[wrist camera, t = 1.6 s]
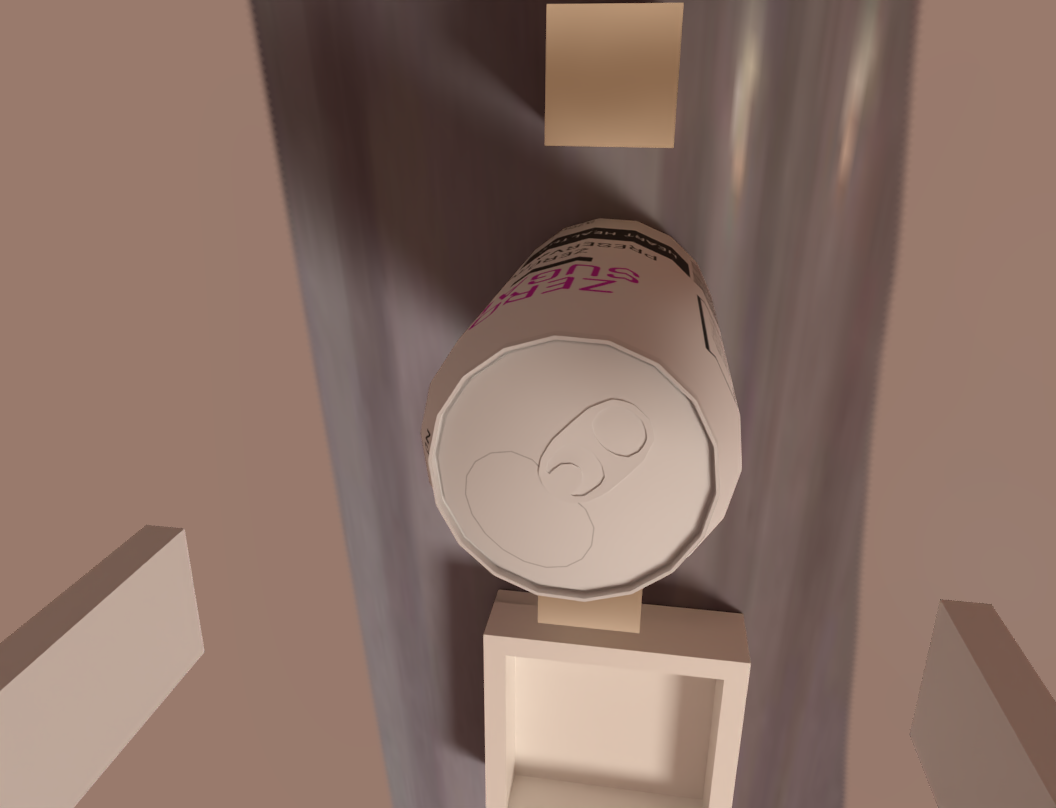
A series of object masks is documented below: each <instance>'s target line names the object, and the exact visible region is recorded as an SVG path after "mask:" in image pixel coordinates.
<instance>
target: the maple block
mask: <svg viewBox="0 0 1056 808" xmlns="http://www.w3.org/2000/svg"><path fill="white" fill-rule="evenodd" d="M683 5H684V3H601V4H547V11H546V80H545V146H594V147H652V148H673V147H674V133H675V119H676V104H677V90H678V76H679V62H680V47H681V33H682V19H683Z"/></svg>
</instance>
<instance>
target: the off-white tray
mask: <svg viewBox="0 0 1056 808" xmlns="http://www.w3.org/2000/svg"><path fill="white" fill-rule="evenodd" d="M483 643H484V709H485V776H486V808H732V800H733V793H734V785H735V778H736V770H737V763H738V755H739V748H740V740H741V733H742V725H743V718H744V711H745V703H746V696H747V688H748V681H749V673H750V666H751V662H750V655H749V649H748V642H747V635H746V629H745V622H744V616H743V614H740V613H730V612H720V611H710V610H700V609H690V608H680V607H670V606H660V605H650V604H641V617H640V632H639V633H632V632H622V631H613V630H603V629H593V628H584V627H574V626H565V625H555V624H546V623H538V595H535V594H533V593H530V592H520V591H510V590H500V589H499V590H498V593H497V596H496V599H495V602H494V604H493V607H492V610H491V613H490V616H489V619H488V622H487V625H486V628H485V631H484V634H483Z"/></svg>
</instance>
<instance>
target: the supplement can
mask: <svg viewBox="0 0 1056 808" xmlns="http://www.w3.org/2000/svg"><path fill="white" fill-rule="evenodd" d="M421 438H422V443H423V449H424V454H425V460H426V465H427V471H428V477H429V482H430V484H431V486H432V487H433V491H434V497H435V502H436V506H437V507H438V509H439V511H440V513H441V514H442V516H443V518H444V519H445V521H446V523H447V525H448V526H449V528H450V530H451V532H452V533H453V535H454V537H455V538H456V540H457V542H458V544H459V545H460V546H461V547H462V548H464V549H465V550H466V551H467V552H468V553H469V554H470V555H471V556H473V557H474V558H475V559H476V560H477V561H478V562H479V563H480V564H482V565H483V566H484V567H485V568H486V569H487V570H488V571H489V572H491V573H492V574H493V575H494V576H496V577H498V578H500V579H503V580H505V581H507V582H509V583H511V584H514V585H516V586H518V587H520V588H522V589H525V590H527V591H529V592H531V593H533V594H535V595H539V596H546V597H553V598H560V599H568V600H575V601H582V602H587V601H593V600H599V599H605V598H611V597H618V596H624V595H630V594H633V593H635V592H637V591H639V590H641V589H643V588H644V587H646V586H648V585H650V584H652V583H654V582H656V581H658V580H660V579H662V578H664V577H665V576H667V575H669V574H671V573H673V572H674V571H675V570H676V569H677V568H678V567H679V565H680V564H681V563H682V562H683V561H684V560H685V559H686V558H687V557H688V556H690V555H691V553H692V552H693V551H694V550H695V549H696V548H697V547H698V546H699V545H700V544H701V542H702V541H703V540H704V539H705V538H706V537H707V536H708V535H709V534H710V532H711V531H712V530H713V529H714V528H715V527H716V526H717V525H718V524H719V523H720V521H721V520H722V519H723V518H724V516H725V513H726V510H727V508H728V505H729V502H730V500H731V497H732V494H733V492H734V489H735V486H736V484H737V481H738V478H739V476H740V473H741V470H742V459H741V428H740V414H739V409H738V405H737V401H736V397H735V393H734V388H733V384H732V380H731V376H730V372H729V368H728V363H727V359H726V355H725V351H724V347H723V342H722V338H721V334H720V330H719V326H718V322H717V317H716V313H715V309H714V305H713V301H712V297H711V294H710V292H709V289H708V287H707V285H706V283H705V280H704V278H703V276H702V273H701V271H700V269H699V266H698V264H697V262H696V261H695V260H694V259H693V258H692V257H691V256H690V255H689V254H688V253H687V252H686V251H685V250H684V249H683V248H682V247H681V246H680V245H679V244H678V243H677V242H676V241H675V240H674V239H673V238H672V237H671V236H669V235H666V234H664V233H662V232H660V231H658V230H656V229H653V228H651V227H649V226H647V225H645V224H643V223H640V222H638V221H631V220H618V219H605V218H598V219H595V220H591V221H588V222H584V223H581V224H577V225H574V226H570V227H567V228H564V229H563V230H561V231H560V232H559V233H557V234H556V235H554V236H553V237H552V238H550V239H549V240H548V241H546V242H545V243H544V244H542V245H541V246H539V247H538V248H537V249H535V250H534V252H533V253H532V254H531V255H530V256H529V257H528V259H527V260H526V261H525V262H524V263H523V265H522V266H521V267H520V268H519V269H518V270H517V272H516V273H515V274H514V275H513V276H512V277H511V279H510V280H509V281H508V282H507V283H506V284H505V286H504V287H503V288H502V289H501V290H500V292H499V293H498V294H497V295H496V296H495V297H494V299H493V300H492V301H491V302H490V303H489V304H488V306H487V307H486V308H485V309H484V310H483V311H482V313H481V314H480V315H479V316H478V317H477V318H476V320H475V321H474V322H473V323H472V324H471V326H470V327H469V328H468V329H467V330H466V331H465V333H464V334H463V335H462V336H461V337H460V338H459V340H458V341H457V343H456V344H455V346H454V347H453V349H452V350H451V352H450V354H449V355H448V357H447V358H446V360H445V361H444V363H443V364H442V366H441V368H440V369H439V371H438V372H437V374H436V375H435V377H434V378H433V380H432V381H431V383H430V387H429V392H428V398H427V403H426V408H425V413H424V418H423V423H422V429H421Z"/></svg>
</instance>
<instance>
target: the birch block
mask: <svg viewBox="0 0 1056 808" xmlns="http://www.w3.org/2000/svg"><path fill="white" fill-rule="evenodd" d="M641 603H642V589H641V590H639V591H637V592H635V593H633V594H630V595H624V596H618V597H611V598H605V599H599V600H593V601H587V602H582V601H575V600H568V599H560V598H553V597H546V596H539V595H538V623H546V624H555V625H565V626H574V627H584V628H593V629H603V630H613V631H622V632H632V633H639V632H640V617H641Z"/></svg>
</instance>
